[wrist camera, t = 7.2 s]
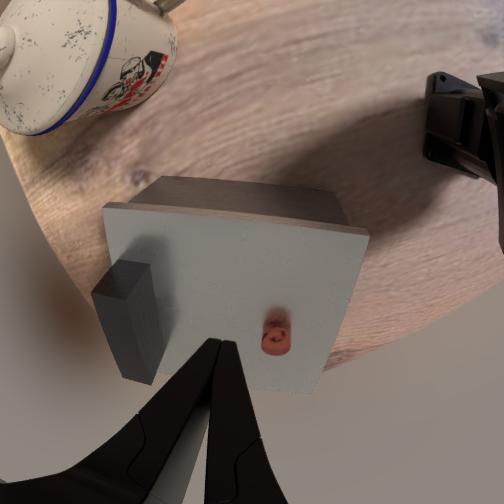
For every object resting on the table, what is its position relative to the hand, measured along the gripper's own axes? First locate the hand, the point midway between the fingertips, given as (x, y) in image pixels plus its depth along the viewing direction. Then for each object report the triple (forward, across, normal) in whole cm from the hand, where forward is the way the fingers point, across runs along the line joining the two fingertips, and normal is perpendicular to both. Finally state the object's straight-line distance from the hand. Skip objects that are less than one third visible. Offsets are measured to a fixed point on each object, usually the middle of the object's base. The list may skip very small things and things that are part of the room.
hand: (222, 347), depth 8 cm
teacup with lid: (+13, +9, -11) cm, 19 cm away
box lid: (+7, +1, +5) cm, 8 cm away
